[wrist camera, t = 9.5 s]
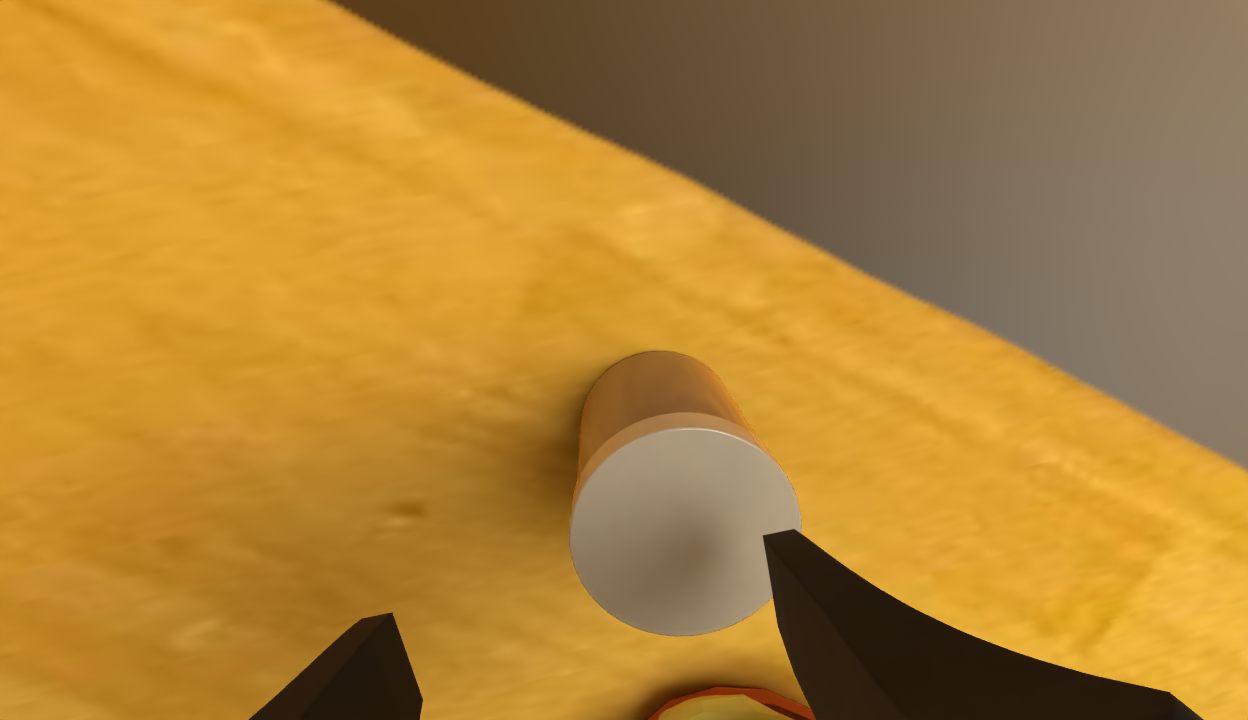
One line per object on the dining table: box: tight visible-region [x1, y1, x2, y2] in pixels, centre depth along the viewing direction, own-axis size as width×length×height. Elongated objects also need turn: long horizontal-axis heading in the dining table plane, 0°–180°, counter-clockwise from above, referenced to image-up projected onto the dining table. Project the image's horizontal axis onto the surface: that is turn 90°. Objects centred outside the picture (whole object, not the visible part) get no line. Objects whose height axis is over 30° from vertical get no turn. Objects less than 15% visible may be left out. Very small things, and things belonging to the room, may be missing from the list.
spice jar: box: [569, 351, 802, 636], centre depth 18 cm, size 5×5×7 cm
